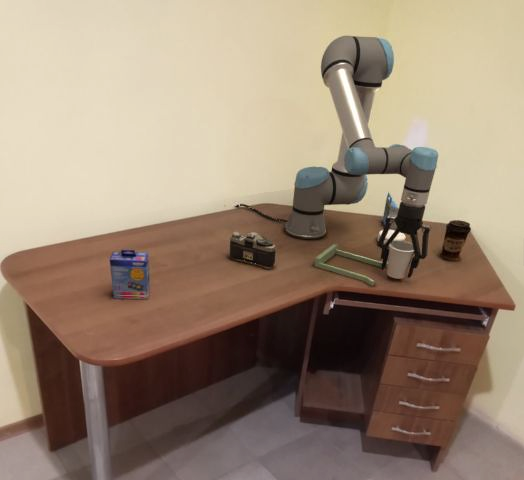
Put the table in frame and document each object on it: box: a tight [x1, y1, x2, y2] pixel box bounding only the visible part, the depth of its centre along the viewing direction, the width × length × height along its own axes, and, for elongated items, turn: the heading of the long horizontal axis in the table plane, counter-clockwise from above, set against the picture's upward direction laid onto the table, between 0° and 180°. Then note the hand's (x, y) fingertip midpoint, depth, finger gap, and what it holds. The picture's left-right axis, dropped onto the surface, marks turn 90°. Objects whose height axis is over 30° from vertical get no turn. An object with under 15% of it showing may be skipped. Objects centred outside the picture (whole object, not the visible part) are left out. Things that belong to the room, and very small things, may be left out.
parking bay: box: [313, 243, 388, 287], centre depth 173 cm, size 21×18×3 cm
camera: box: [229, 231, 277, 270], centre depth 170 cm, size 16×10×10 cm, turn 65°
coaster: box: [377, 229, 406, 248], centre depth 194 cm, size 10×10×4 cm
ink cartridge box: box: [109, 249, 151, 300], centre depth 143 cm, size 10×6×14 cm, turn 95°
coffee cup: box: [440, 219, 472, 261], centre depth 184 cm, size 9×8×13 cm
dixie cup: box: [386, 240, 414, 280], centre depth 165 cm, size 8×8×10 cm
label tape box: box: [382, 191, 399, 230], centre depth 207 cm, size 9×4×12 cm, turn 179°
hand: (396, 272), depth 167 cm, fingers closed on dixie cup, 8 cm apart
